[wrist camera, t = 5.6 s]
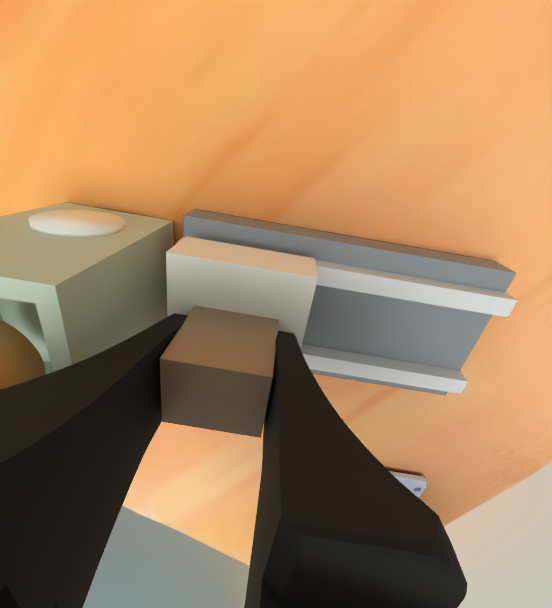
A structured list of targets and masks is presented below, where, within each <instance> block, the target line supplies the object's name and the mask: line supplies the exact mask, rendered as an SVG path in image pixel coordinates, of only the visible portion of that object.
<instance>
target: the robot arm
mask: <svg viewBox="0 0 552 608" xmlns="http://www.w3.org/2000/svg"><path fill="white" fill-rule="evenodd" d="M187 317H188V315H182V314H176V313H174V314H172V315H170V316H168V317H166V318H164V319H162V320H161V321H159V322H157V323H155V324H154V325H152V326H150V327H148V328H147V329H145V330H143V331H141V332H139V333H138V334H136V335H134V336H132V337H130V338H128V339H127V340H125V341H123V342H120V343H118V344H116V345H114V346H112V347H110V348H108V349H106V350H104V351H102V352H100V353H98V354H96V355H94V356H92V357H89V358H87V359H85V360H82V361H80V362H78V363H75V364H73V365H70V366H68V367H65V368H63V369H60V370H57V371H55V372H52V373H49V374H46V375H43V376H40V377H37V378H34V379H31V380H28V381H25V382H22V383H19V384H16V385H13V386H10V387H7V388H3V389H0V608H82V607H83V605H84V602H85V599H86V596H87V594H88V591H89V589H90V586H91V583H92V580H93V578H94V575H95V572H96V570H97V567H98V564H99V562H100V559H101V557H102V554H103V552H104V549H105V547H106V544H107V542H108V539H109V536H110V534H111V531H112V529H113V526H114V524H115V521H116V519H117V516H118V514H119V511H120V509H121V507H122V504H123V502H124V499H125V497H126V495H127V492H128V490H129V487H130V485H131V483H132V480H133V478H134V476H135V473H136V471H137V469H138V467H139V464H140V462H141V460H142V457H143V455H144V453H145V451H146V449H147V447H148V445H149V443H150V441H151V439H152V438H153V436H154V434H155V432H156V430H157V429H158V427H159V425H160V423H161V421H162V409H161V383H160V357H161V356H162V354H163V353H164V351H165V350H166V348H167V347H168V345H169V344H170V342H171V341H172V339H173V338H174V336H175V335H176V333H177V332H178V330H179V329H180V328H181V326H182V325H183V323H184V322H185V320H186V318H187ZM426 486H427V482H426V479H425V478H424V477H422V476H418V475H411V474H405V473H399V472H393V471H388V470H387V469H386V468H385V467H384V466H383V465H382V464H381V463H380V462H379V461H378V460H377V459H376V458H375V457H374V456H373V455H372V454H371V453H370V451H369V450H368V449H367V448H366V447H365V446H364V445H363V444H362V443H361V441H360V440H359V439H358V438H357V437H356V436H355V435H354V433H353V432H352V431H351V430H350V429H349V428H348V426H347V425H346V424H345V423H344V421H343V420H342V419H341V418H340V416H339V415H338V413H337V412H336V411H335V409H334V408H333V407H332V405H331V404H330V402H329V401H328V399H327V398H326V396H325V395H324V393H323V391H322V390H321V388H320V386H319V385H318V383H317V381H316V379H315V378H314V376H313V374H312V372H311V370H310V368H309V366H308V364H307V362H306V360H305V358H304V356H303V354H302V351H301V349H300V346H299V344H298V341H297V338H296V336H295V334H294V333H289V332H283V331H278V333H277V336H276V351H275V360H274V369H273V378H272V383H271V388H270V393H269V398H268V403H267V408H266V413H265V418H264V434H263V461H262V474H261V483H260V491H259V499H258V507H257V515H256V523H255V531H254V538H253V546H252V554H251V562H250V569H249V577H248V585H247V592H246V600H245V607H244V608H457V607H458V606H459V605H460V603H461V602H462V601H463V599H464V597H465V595H466V591H467V582H466V579H465V577H464V574H463V572H462V569H461V567H460V564H459V561H458V559H457V556H456V554H455V551H454V549H453V546H452V544H451V541H450V539H449V537H448V535H447V533H446V531H445V529H444V527H443V525H442V523H441V520H440V518H439V516H438V515H437V514H436V513H435V512H434V511H433V510H432V509H430V508H429V507H428V506H427V505H426V504H425V503H424V502H422V501H421V500H420V499H419V497H420V495H421V494H422V492H423V491H424V489H425V488H426Z"/></svg>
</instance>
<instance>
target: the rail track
mask: <svg viewBox="0 0 552 608" xmlns="http://www.w3.org/2000/svg"><path fill="white" fill-rule="evenodd" d="M186 236H188V237H194V238H200V239H205V240H211V241H217V242H223V243H229V244H235V245H240V246H246V247H252V248H258V249H264V250H269V251H275V252H281V253H287V254H293V255H299V256H304V257H310V258H315V263H316V269H317V275H318V280H317V284H316V288H315V292H314V296H313V300H312V305H311V309H310V313H309V317H308V321H307V325H306V329H305V334H304V338H303V342H302V346H301V351H302V354H303V356H304V358H305V360H306V362H307V364H308V366H309V368H310V370H311V372H312V373H314V374H320V375H326V376H332V377H338V378H344V379H350V380H356V381H362V382H368V383H374V384H380V385H386V386H392V387H398V388H404V389H410V390H416V391H422V392H428V393H434V394H440V395H446V394H447V392H452V393H458V394H461V392H462V391H463V389H464V388H465V386H466V384H467V383H468V381H467V380H466V378H465V377H464V376H463V374H462V373H461V371H460V369H461V368H462V366H463V364H464V363H465V361H466V359H467V357H468V356H469V354H470V352H471V350H472V349H473V347H474V345H475V344H476V342H477V340H478V338H479V337H480V335H481V333H482V332H483V330H484V328H485V326H486V325H487V323H488V321H489V319H490V318H491V316H492V315H497V316H503V317H508V316H509V314H510V312H511V311H512V309H513V308H514V306H515V304H516V303H517V301H518V300H516V299H515V298H513V297H512V296H510V295H509V294H507V293H506V290H507V288H508V287H509V285H510V283H511V282H512V280H513V278H514V276H515V275H516V272H514V271H512V270H510V269H508V268H507V267H505V266H503V265H501V264H499V263H497V262H496V261H491V260H485V259H480V258H474V257H468V256H462V255H457V254H451V253H445V252H439V251H433V250H428V249H422V248H416V247H410V246H405V245H399V244H393V243H387V242H382V241H376V240H370V239H364V238H358V237H353V236H347V235H341V234H335V233H330V232H324V231H318V230H312V229H306V228H301V227H295V226H289V225H283V224H278V223H272V222H266V221H260V220H254V219H249V218H243V217H237V216H231V215H226V214H220V213H214V212H208V211H202V210H197V209H195V210H193V211H191V212H189V213H187V214H185V215H184V237H183V238H181V239H180V240H179V241H177V243H179V242H180V241H181V240H183V239H184V238H185V237H186Z"/></svg>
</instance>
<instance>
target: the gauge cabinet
mask: <svg viewBox="0 0 552 608" xmlns="http://www.w3.org/2000/svg"><path fill="white" fill-rule="evenodd" d="M173 246H174V231H173V221H171V220H165V219H159V218H154V217H148V216H142V215H136V214H130V213H125V212H119V211H113V210H107V209H101V208H96V207H90V206H84V205H78V204H72V203H67V202H66V203H62V204H57V205H52V206H48V207H43V208H38V209H34V210H29V211H24V212H20V213H15V214H10V215H6V216H1V217H0V320H2V321H4V322H6V323H8V324H9V325H11V326H13V327H14V328H16V329H17V330H18V331H20V332H21V333H22V334H23V335H24V336H25V337H27V338H28V340H29V341H30V342H31V343H32V344H33V345H34V346H35V348H36V349H37V350H38V352H39V353H40V355H41V357H42V359H43V362H44V365H45V372H46V374H49V373H52V372H55V371H57V370H60V369H63V368H65V367H68V366H70V365H73V364H75V363H78V362H80V361H82V360H85V359H87V358H89V357H92V356H94V355H96V354H98V353H100V352H102V351H104V350H106V349H108V348H110V347H112V346H114V345H116V344H118V343H120V342H123V341H125V340H127V339H128V338H130V337H132V336H134V335H136V334H138V333H139V332H141V331H143V330H145V329H147V328H148V327H150V326H152V325H154V324H155V323H157V322H159V321H161V320H162V319H164V318H166V317H167V275H166V252H167V251H168V250H169V249H171V248H172V247H173Z"/></svg>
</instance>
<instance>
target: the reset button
mask: <svg viewBox="0 0 552 608" xmlns="http://www.w3.org/2000/svg"><path fill="white" fill-rule="evenodd" d="M43 375H46V372H45V365H44V362H43V359H42V357H41V355H40V353H39V352H38V350H37V349H36V348H35V346H34V345H33V344H32V343H31V342H30V341H29V340H28V338H27V337H25V336H24V335H23V334H22V333H21V332H20V331H18V330H17V329H16V328H14V327H13V326H11V325H9V324H8V323H6V322H4V321H2V320H0V389H3V388H7V387H10V386H13V385H16V384H19V383H22V382H25V381H28V380H31V379H34V378H37V377H40V376H43Z"/></svg>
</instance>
